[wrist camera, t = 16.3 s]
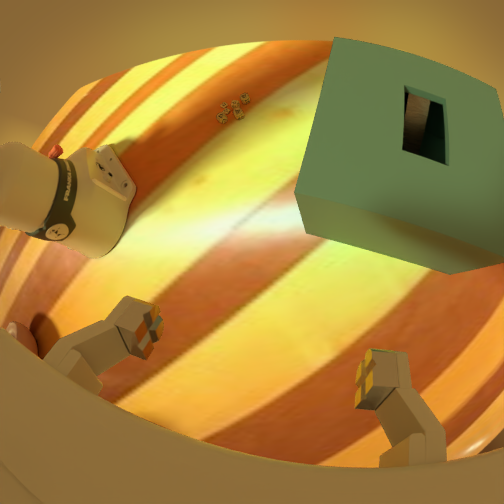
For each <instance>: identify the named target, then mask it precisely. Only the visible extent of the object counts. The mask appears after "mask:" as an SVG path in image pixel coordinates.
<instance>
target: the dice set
mask: <svg viewBox="0 0 504 504" xmlns="http://www.w3.org/2000/svg"><path fill="white" fill-rule="evenodd" d="M240 99H241V101H242V103H243V104H248V103H250V101H251V100H250V98H249V95H248V94H247V93H243V94H241V95H240ZM227 106H228V104H227V103H225V102H223V103H222V104H221V105H220V107H222V108H223V109H224V110H223V112H221V113H218V114H217V115H216V118H217V120H218V121H219V123H221V124H224V123H226V122H227V121H228V119H227V116H226V115H228V114H229V112H230V111H231V110H230V109H228V108H226V107H227ZM231 106H232V108H234V111H233V113H234V116H235V117H236V119H238V120H240V119H243V118H244V116H245V115H244V113H243V111H242V109H241V108H240V103H239V101H237V100H232V103H231ZM225 114H226V115H225Z"/></svg>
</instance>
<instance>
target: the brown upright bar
mask: <svg viewBox="0 0 504 504" xmlns="http://www.w3.org/2000/svg"><path fill="white" fill-rule="evenodd" d="M429 105H430V100H428V99H425V98H423V97H420V96H417V95H413V94H410V93H407V92H404V128H403V144H402V150H403V151H406V152H410V153H413V154H416V155H419V151H420V147H421V143H422V139H423V134H424V130H425V125H426V121H427V116H428V111H429Z"/></svg>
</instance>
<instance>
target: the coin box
mask: <svg viewBox="0 0 504 504" xmlns="http://www.w3.org/2000/svg"><path fill="white" fill-rule="evenodd" d="M404 92H407V93H410V94H413V95H417V96H420V97H423V98H425V99H428V100H430V105H429V111H428V116H427V121H426V125H425V130H424V134H423V139H422V143H421V147H420V151H419V155H416V154H413V153H410V152H406V151H403V150H402V144H403V128H404ZM294 193H295V197H296V200H297V203H298V207H299V210H300V214H301V217H302V221H303V224H304V228H305V231H306V233H307V234H311V235H315V236H319V237H322V238H326V239H330V240H334V241H337V242H341V243H345V244H348V245H352V246H355V247H359V248H363V249H366V250H370V251H373V252H377V253H380V254H384V255H387V256H390V257H394V258H397V259H401V260H404V261H407V262H411V263H414V264H417V265H421V266H424V267H427V268H430V269H434V270H437V271H440V272H443V273H446V274H449V275H451V274H455V273H460V272H465V271H470V270H474V269H479V268H483V267H487V266H492V265H496V264H500V263H504V118H503V113H502V109H501V105H500V101H499V98H498V94H497V91H496V89H495V88H493V87H491V86H489V85H488V84H486V83H484V82H482V81H480V80H478V79H476V78H473V77H471V76H469V75H467V74H465V73H462V72H460V71H458V70H455V69H453V68H451V67H448V66H445V65H443V64H440V63H438V62H435V61H432V60H429V59H426V58H423V57H420V56H417V55H414V54H411V53H408V52H404V51H401V50H397V49H393V48H389V47H385V46H381V45H377V44H372V43H367V42H362V41H357V40H351V39H345V38H338V37H334V40H333V45H332V49H331V53H330V57H329V61H328V66H327V70H326V74H325V78H324V82H323V86H322V90H321V94H320V98H319V102H318V105H317V109H316V113H315V117H314V121H313V125H312V129H311V132H310V136H309V140H308V144H307V147H306V151H305V155H304V158H303V162H302V166H301V169H300V173H299V177H298V180H297V184H296V187H295V191H294Z"/></svg>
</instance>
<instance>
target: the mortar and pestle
mask: <svg viewBox="0 0 504 504" xmlns="http://www.w3.org/2000/svg"><path fill="white" fill-rule="evenodd" d="M6 331H7V332H8V333H10V334H11V335H12V336H13V337H14V338H15V339H16V340H18V341H19V342H20V343H21V344H22V345H24V346H25V347H26V348H27V349H29V350H30V351H31V352H32V353H34V354H35V355H36V356H38V348H37V344H36V341H35V338H34V336H33V335H32V333H31V332H30V331H29V329H28V328H27V327H25V326H24V325H22V324H21V323H18V322H14V321H13V322H10V323H9V325H8V327H7V329H6Z"/></svg>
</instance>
